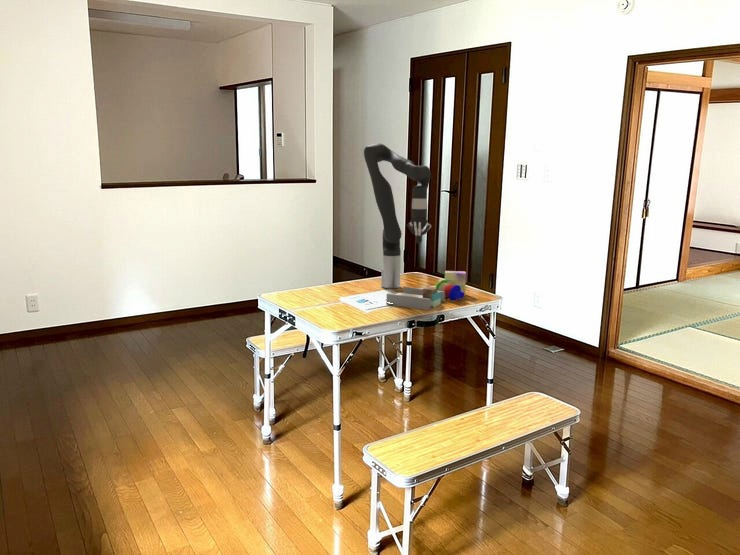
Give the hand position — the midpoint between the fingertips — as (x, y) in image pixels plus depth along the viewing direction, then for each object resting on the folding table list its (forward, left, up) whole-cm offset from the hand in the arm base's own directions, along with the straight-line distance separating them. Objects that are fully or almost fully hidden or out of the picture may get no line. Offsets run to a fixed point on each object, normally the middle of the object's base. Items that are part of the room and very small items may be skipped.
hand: (418, 243), depth 304 cm
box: (+14, +14, -27) cm, 34 cm away
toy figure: (+15, +3, -27) cm, 31 cm away
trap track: (+5, -12, -27) cm, 30 cm away
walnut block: (+12, -12, -24) cm, 29 cm away
